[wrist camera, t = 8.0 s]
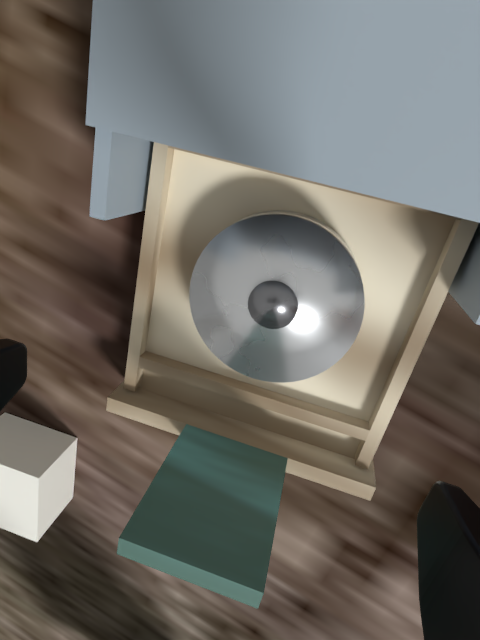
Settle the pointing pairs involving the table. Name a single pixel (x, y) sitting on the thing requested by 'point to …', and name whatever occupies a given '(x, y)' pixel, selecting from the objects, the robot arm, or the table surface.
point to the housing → (295, 99)
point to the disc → (277, 296)
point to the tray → (255, 395)
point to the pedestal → (34, 475)
